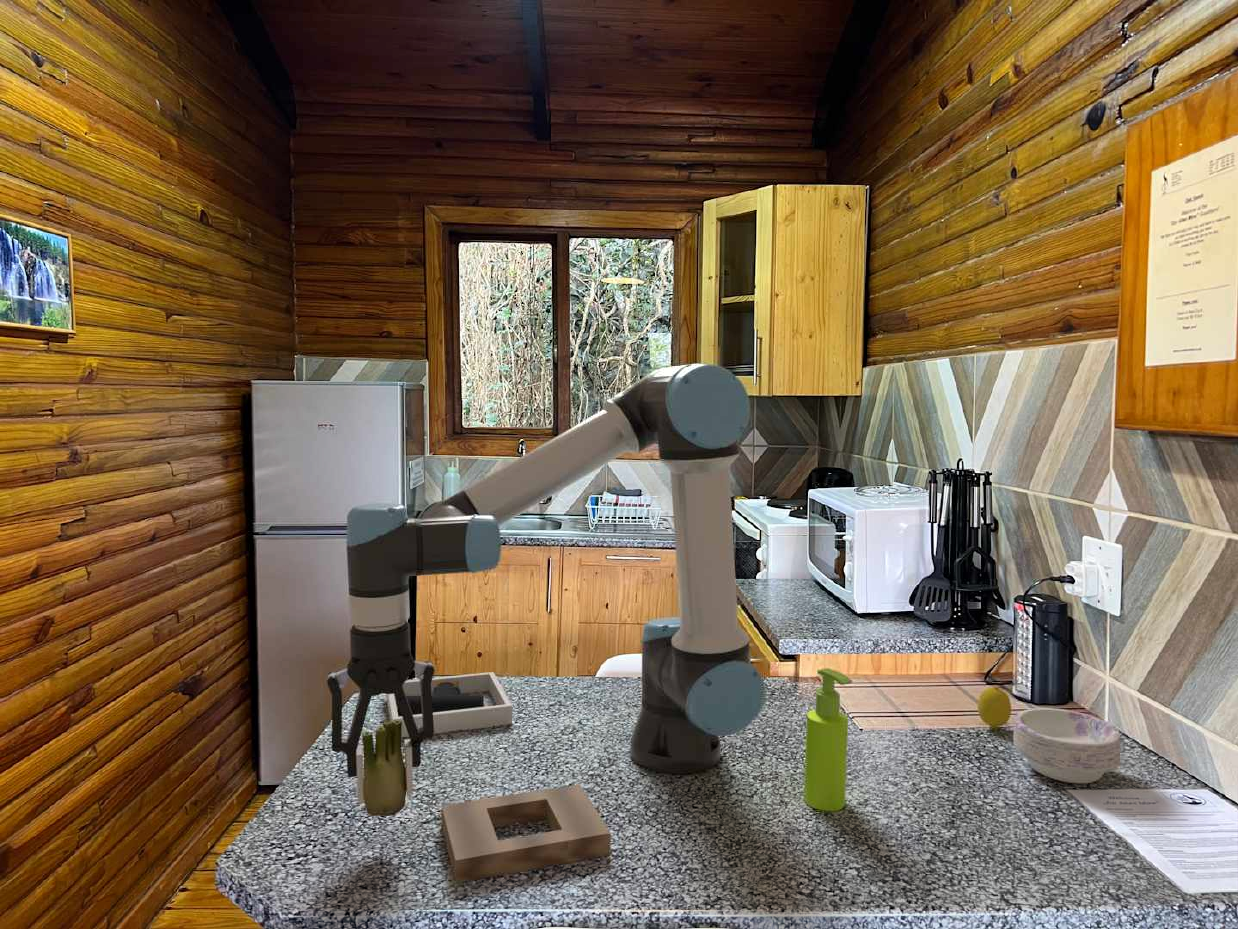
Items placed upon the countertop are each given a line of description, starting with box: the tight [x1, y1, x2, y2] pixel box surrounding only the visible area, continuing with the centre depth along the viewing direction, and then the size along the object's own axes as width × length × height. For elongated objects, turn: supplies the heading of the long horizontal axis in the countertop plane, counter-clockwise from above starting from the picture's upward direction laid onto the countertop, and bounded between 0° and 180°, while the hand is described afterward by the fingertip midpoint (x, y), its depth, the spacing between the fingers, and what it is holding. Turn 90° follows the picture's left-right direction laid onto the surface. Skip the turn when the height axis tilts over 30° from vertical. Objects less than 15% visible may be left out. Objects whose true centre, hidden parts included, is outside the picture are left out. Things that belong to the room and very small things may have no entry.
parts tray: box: [386, 671, 513, 739], centre depth 152 cm, size 21×19×4 cm
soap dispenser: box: [803, 668, 853, 812], centre depth 118 cm, size 6×7×20 cm
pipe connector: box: [396, 681, 485, 717], centre depth 151 cm, size 12×5×15 cm
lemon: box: [977, 685, 1012, 730], centre depth 147 cm, size 6×6×8 cm
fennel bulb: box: [361, 720, 407, 817], centre depth 106 cm, size 6×5×12 cm
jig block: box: [441, 783, 611, 884], centre depth 108 cm, size 20×14×3 cm
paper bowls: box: [1012, 707, 1122, 784], centre depth 130 cm, size 15×15×8 cm
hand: (385, 794), depth 106 cm, fingers closed on fennel bulb, 5 cm apart
